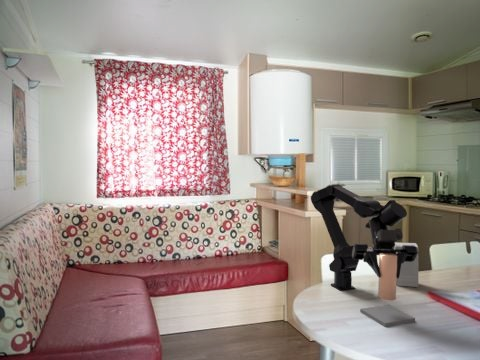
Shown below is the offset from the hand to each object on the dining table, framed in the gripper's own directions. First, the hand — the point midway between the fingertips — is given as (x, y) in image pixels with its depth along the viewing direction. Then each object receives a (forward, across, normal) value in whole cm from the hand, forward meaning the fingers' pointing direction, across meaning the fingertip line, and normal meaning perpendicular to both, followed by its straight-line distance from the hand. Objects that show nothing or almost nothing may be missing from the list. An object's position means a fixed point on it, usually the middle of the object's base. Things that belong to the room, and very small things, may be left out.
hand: (388, 277), depth 110 cm
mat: (+8, 0, +10) cm, 13 cm away
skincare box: (-14, +16, +33) cm, 39 cm away
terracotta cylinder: (+4, 0, +6) cm, 7 cm away
